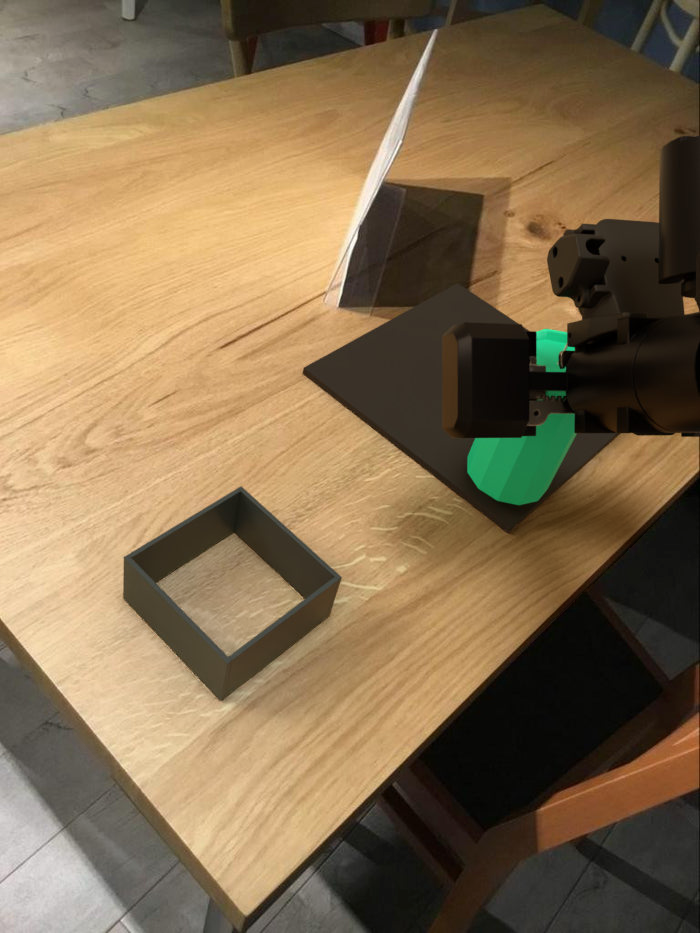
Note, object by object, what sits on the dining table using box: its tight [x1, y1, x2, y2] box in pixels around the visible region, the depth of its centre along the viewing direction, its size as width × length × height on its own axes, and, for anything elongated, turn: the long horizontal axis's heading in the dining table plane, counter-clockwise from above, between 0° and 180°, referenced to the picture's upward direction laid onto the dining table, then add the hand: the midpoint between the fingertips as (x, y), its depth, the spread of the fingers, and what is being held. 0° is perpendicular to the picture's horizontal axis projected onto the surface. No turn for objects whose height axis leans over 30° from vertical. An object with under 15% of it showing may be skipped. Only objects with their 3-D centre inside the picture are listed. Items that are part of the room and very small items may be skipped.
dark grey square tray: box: [122, 486, 343, 702], centre depth 50 cm, size 9×9×4 cm
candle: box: [467, 328, 577, 505], centre depth 57 cm, size 6×6×12 cm
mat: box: [302, 282, 621, 534], centre depth 69 cm, size 20×20×1 cm
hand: (532, 390), depth 58 cm, fingers closed on candle, 5 cm apart
